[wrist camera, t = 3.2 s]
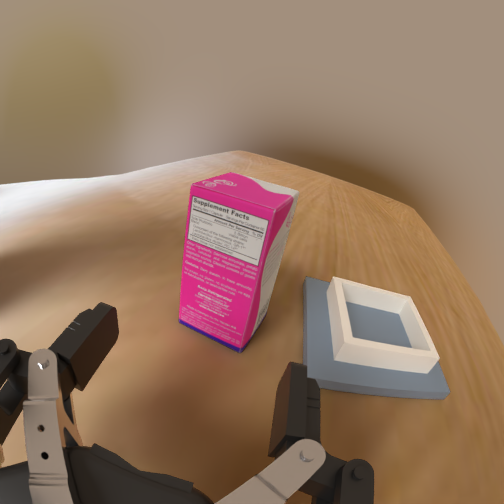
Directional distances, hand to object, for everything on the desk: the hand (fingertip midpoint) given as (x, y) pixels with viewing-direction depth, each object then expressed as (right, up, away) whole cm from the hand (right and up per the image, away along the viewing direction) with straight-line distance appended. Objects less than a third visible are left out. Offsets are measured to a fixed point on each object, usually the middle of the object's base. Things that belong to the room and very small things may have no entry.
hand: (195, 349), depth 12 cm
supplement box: (0, -2, +12) cm, 12 cm away
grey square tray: (+14, -4, +13) cm, 19 cm away
